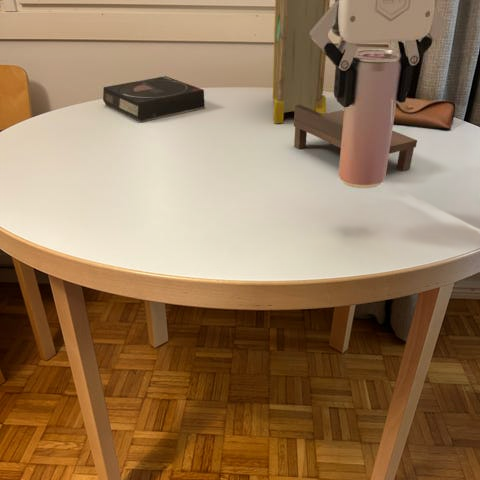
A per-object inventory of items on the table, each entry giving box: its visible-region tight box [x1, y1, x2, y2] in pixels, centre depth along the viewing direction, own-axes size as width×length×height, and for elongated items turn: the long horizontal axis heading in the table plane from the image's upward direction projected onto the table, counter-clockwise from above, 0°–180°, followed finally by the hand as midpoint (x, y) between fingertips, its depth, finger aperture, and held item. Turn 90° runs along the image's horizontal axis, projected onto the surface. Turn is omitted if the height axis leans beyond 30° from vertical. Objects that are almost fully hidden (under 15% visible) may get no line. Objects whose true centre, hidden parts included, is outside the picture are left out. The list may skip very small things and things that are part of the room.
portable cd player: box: [102, 75, 206, 123], centre depth 120 cm, size 16×17×4 cm
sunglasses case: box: [393, 97, 456, 130], centre depth 111 cm, size 18×7×7 cm
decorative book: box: [272, 0, 331, 124], centre depth 109 cm, size 20×11×30 cm, turn 178°
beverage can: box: [338, 48, 402, 189], centre depth 64 cm, size 6×6×15 cm
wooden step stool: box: [293, 105, 418, 171], centre depth 93 cm, size 11×20×7 cm, turn 30°
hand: (370, 100), depth 63 cm, fingers closed on beverage can, 6 cm apart
